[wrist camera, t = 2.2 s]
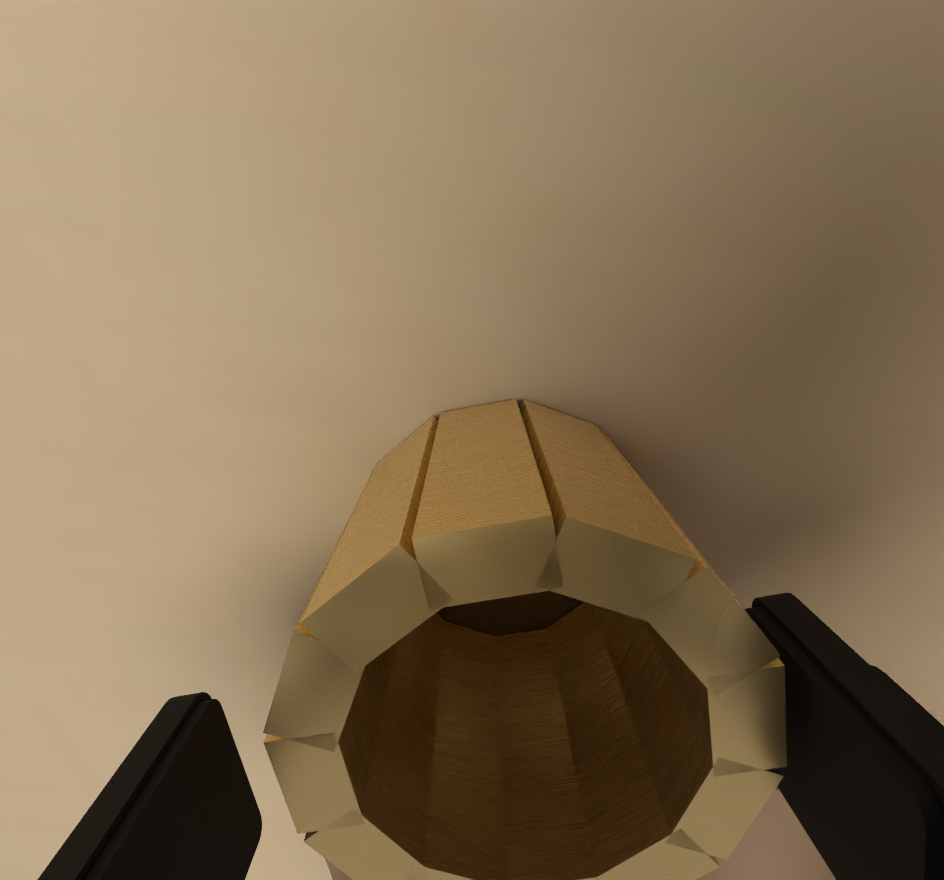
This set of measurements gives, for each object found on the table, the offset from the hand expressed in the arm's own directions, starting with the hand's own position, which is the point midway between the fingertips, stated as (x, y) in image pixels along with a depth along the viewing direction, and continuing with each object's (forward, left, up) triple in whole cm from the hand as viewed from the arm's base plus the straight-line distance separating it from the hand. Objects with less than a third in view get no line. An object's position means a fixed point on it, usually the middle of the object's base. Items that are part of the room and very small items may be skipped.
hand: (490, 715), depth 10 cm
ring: (-1, -1, -4) cm, 4 cm away
